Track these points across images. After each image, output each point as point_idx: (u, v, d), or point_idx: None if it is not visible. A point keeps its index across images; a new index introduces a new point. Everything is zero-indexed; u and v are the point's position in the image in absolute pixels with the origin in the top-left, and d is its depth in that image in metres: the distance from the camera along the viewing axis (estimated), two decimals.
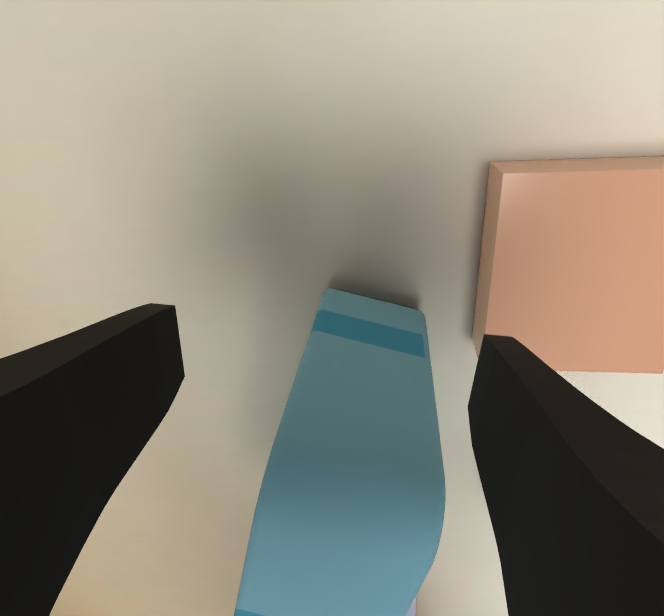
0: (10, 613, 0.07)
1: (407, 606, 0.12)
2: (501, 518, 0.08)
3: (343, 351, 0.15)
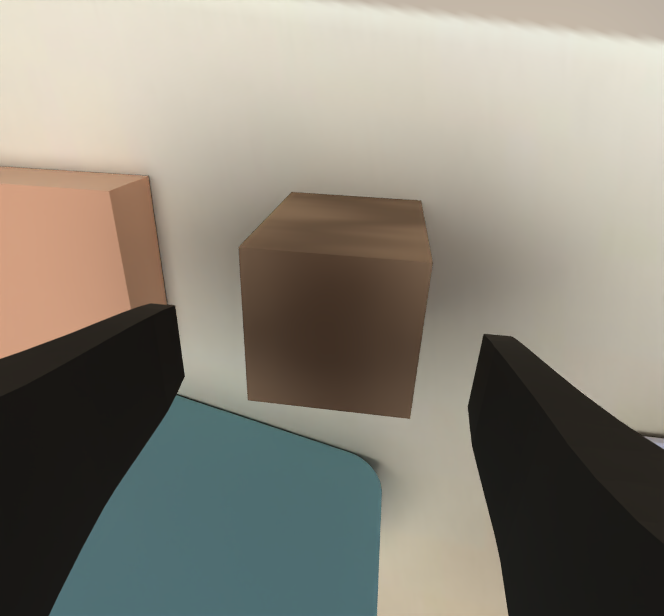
0: (10, 613, 0.07)
1: None
2: (501, 518, 0.08)
3: None
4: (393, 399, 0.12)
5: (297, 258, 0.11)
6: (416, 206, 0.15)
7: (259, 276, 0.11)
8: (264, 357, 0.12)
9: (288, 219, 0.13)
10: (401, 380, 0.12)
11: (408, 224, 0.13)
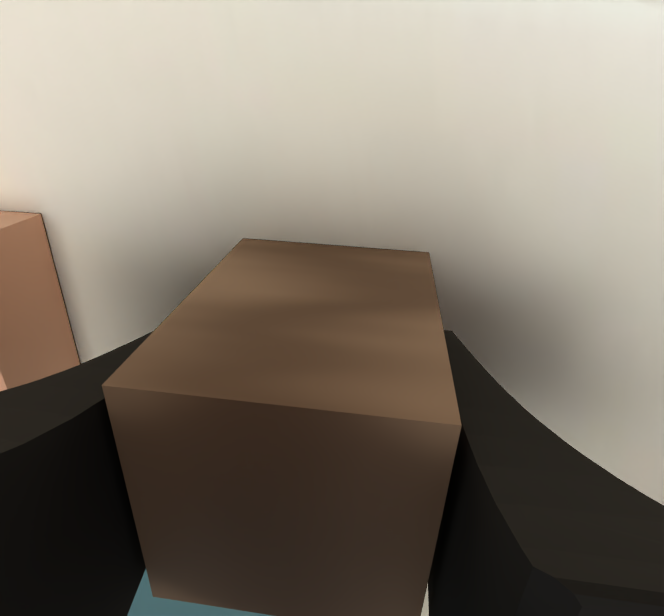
0: None
1: None
2: None
3: None
4: (388, 612, 0.07)
5: (208, 408, 0.06)
6: (422, 267, 0.10)
7: (145, 432, 0.06)
8: (171, 544, 0.07)
9: (219, 301, 0.08)
10: (401, 589, 0.07)
11: (412, 310, 0.08)
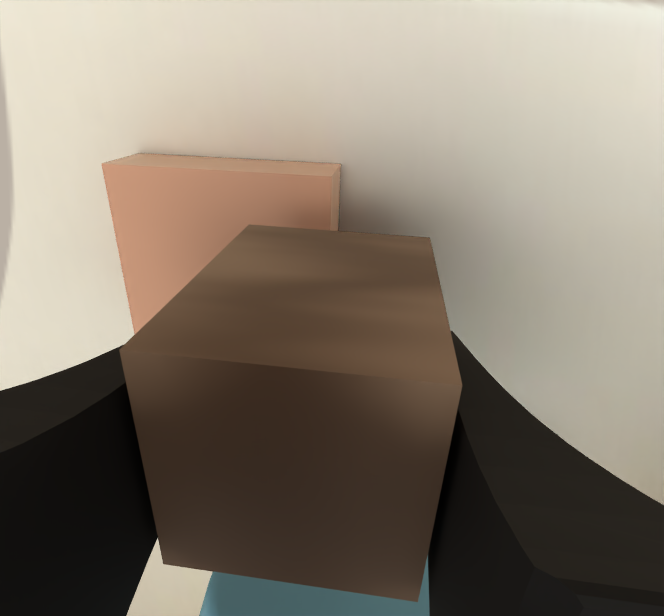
0: None
1: None
2: None
3: None
4: (391, 575, 0.07)
5: (221, 370, 0.06)
6: (424, 249, 0.10)
7: (160, 396, 0.06)
8: (182, 510, 0.07)
9: (228, 279, 0.08)
10: (404, 552, 0.07)
11: (414, 287, 0.08)
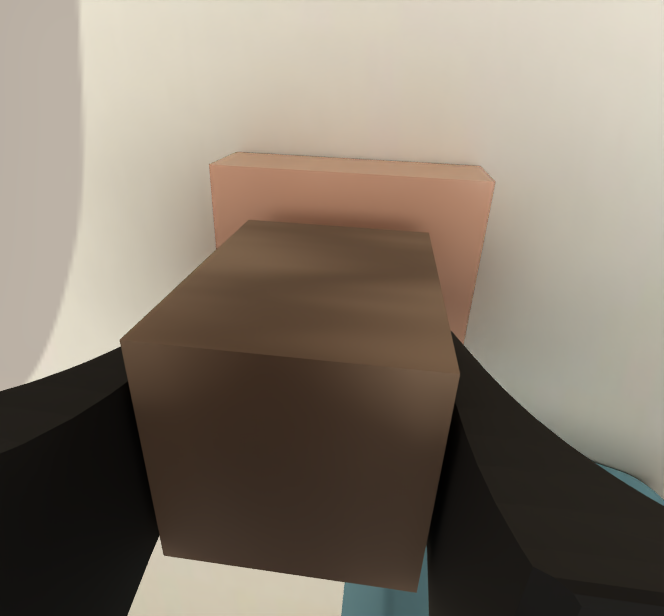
0: None
1: None
2: None
3: None
4: (390, 566, 0.07)
5: (221, 360, 0.06)
6: (423, 244, 0.10)
7: (160, 386, 0.06)
8: (182, 501, 0.07)
9: (228, 272, 0.08)
10: (402, 542, 0.07)
11: (413, 280, 0.08)
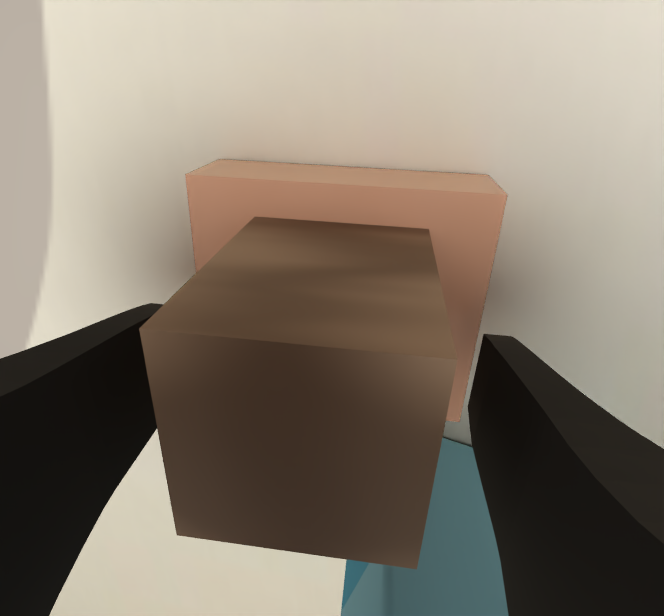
0: (10, 613, 0.07)
1: None
2: (501, 518, 0.08)
3: None
4: (392, 544, 0.08)
5: (234, 348, 0.06)
6: (423, 240, 0.11)
7: (176, 372, 0.07)
8: (195, 482, 0.08)
9: (237, 266, 0.09)
10: (403, 521, 0.08)
11: (414, 274, 0.09)
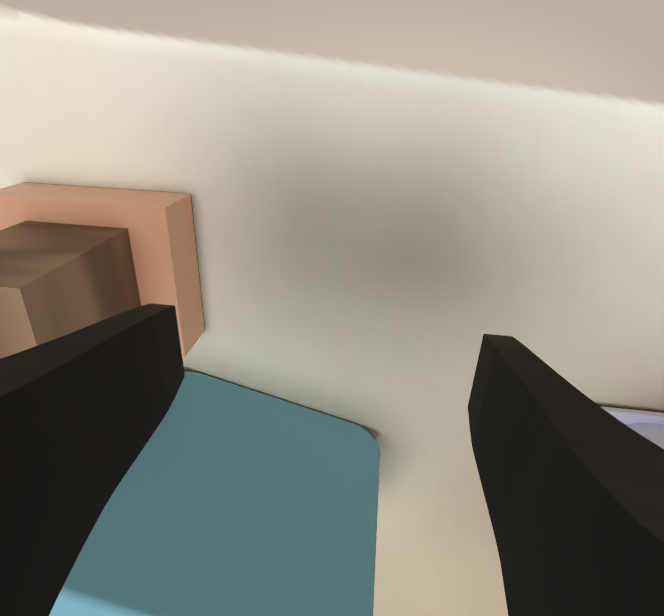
0: (10, 613, 0.07)
1: (104, 609, 0.14)
2: (501, 518, 0.08)
3: None
4: None
5: None
6: (110, 235, 0.18)
7: None
8: None
9: None
10: None
11: (68, 253, 0.16)
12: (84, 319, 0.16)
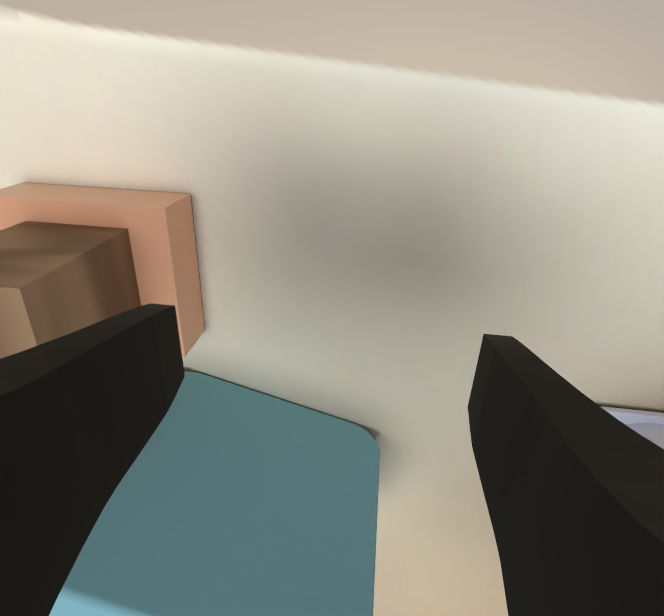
0: (10, 613, 0.07)
1: (104, 610, 0.14)
2: (501, 518, 0.08)
3: None
4: None
5: None
6: (110, 235, 0.18)
7: None
8: None
9: None
10: None
11: (68, 253, 0.16)
12: (84, 319, 0.16)
